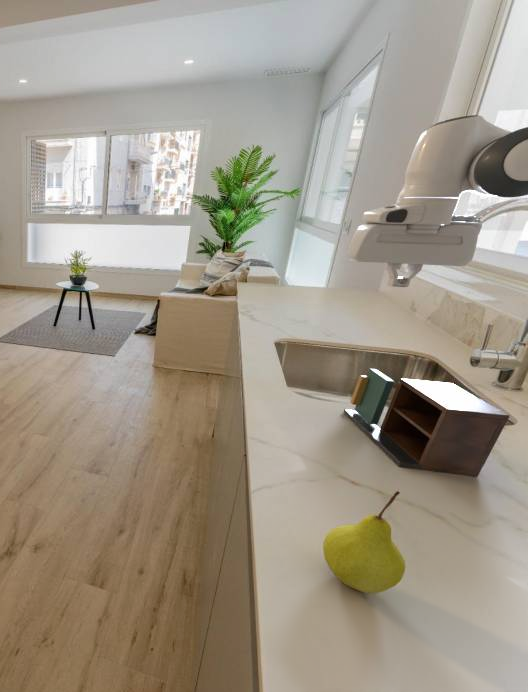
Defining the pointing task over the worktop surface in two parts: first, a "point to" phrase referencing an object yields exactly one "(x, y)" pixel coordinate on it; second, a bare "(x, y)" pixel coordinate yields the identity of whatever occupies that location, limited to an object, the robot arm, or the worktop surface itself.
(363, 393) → the sliding door
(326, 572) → the worktop surface
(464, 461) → the cabinet
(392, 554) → the fruit
